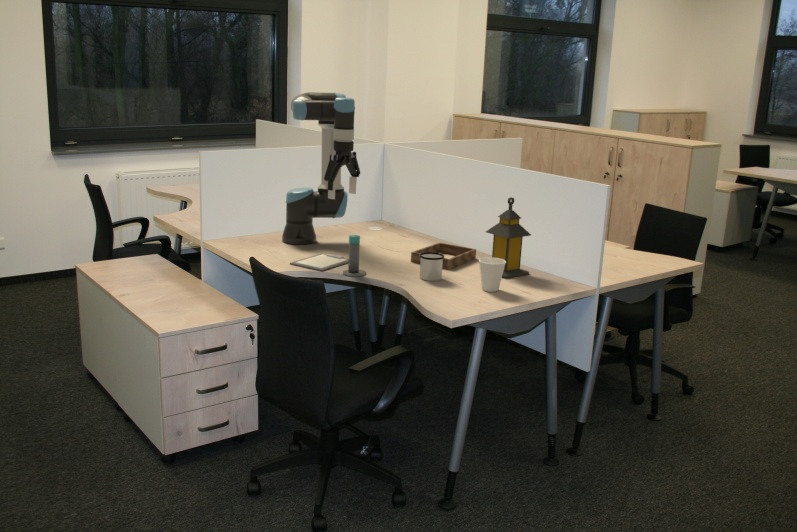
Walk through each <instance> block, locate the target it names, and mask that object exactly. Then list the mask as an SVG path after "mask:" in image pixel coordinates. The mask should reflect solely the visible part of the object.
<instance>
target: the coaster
mask: <svg viewBox="0 0 797 532" xmlns="http://www.w3.org/2000/svg"><path fill="white" fill-rule="evenodd" d="M342 275H343V276H347V277H351V278H352V277H354V278H359V277H364V275H365V276H366V275H367V271H366V270H364V269H359V273H349V272H348V269H345V270H342Z"/></svg>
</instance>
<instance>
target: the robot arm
mask: <svg viewBox="0 0 797 532" xmlns="http://www.w3.org/2000/svg"><path fill="white" fill-rule="evenodd" d="M355 102H356V101H355V99H354V98H352V97H346V94H344V93H339V92H315V91H313V92H311V91H310V92H305V93H300V94H297V95H296V96H294V97H293V98H292V100H291V103H290V110H291V113H292V118H293V120H297V121H318V124H317V125H318V126H319V127H320V128H321V169H320V170H321V171H320V172H321V173H320V174H321V179H320V180H321V181H320V184H319V185H318V187H317V191H314V188H312V187H297V188H293V189H290V190H288V191H287V192H286V196H285V197H286V200H285V203H286V205H285V206H286V209H285V210H286V211H285V214H286V215H285V226H284V229H283V233H282V235H281V240H282V242H283V243H286V244H290V245H310V244H314V243H316V242H317V235H316V231H315V228H314V223H313V222H314V221H313V219H314V218H315V219H320V218H321V219H323V218H324V219H328V218H329V219H337V218H338V219H339V218H343V217H344V216H345V214H346V211H347V206H348V196H349V195H348V194H352V195H356V194H357V178H359V177H360V175H361V170H360V165H359V162H358V159H357V151H354V143H355V142H354V141H353V140H354V139H355V110H356V107H355V105H356V103H355ZM343 166H346V169H347V171H348V172H349V174H350V176H349V182H348V186H349V187H348V192H347V191H345V187H344V186H343V185H342V167H343Z"/></svg>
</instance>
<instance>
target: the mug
mask: <svg viewBox="0 0 797 532" xmlns="http://www.w3.org/2000/svg"><path fill="white" fill-rule="evenodd" d="M419 256H420V258H421V263H419V264H420V266H419V267H420V268H419V278H420V279H421V280H422V281H427V282H437V281H440V280H442V277H443V268H442V263H443V259H444V258H445V254H444V253H441V252H439V253H435V252H424V253H421V254H420V255H419Z"/></svg>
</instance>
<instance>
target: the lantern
mask: <svg viewBox="0 0 797 532" xmlns="http://www.w3.org/2000/svg"><path fill="white" fill-rule="evenodd" d="M507 204H508V209H506V210H505V211H503V212H502V213H500V215H498V216H497V218H499V222H498V223H497V224H494V225H493V226H492V227H490V228H489V229H487V230H486V231H485V233H487V234H491V235H493V238H492V240H493V241H492V250H491V251H492V252H491V257H493V258H500V259H503V260H505V261H506V263H505V267H504V271H503V274H502V278H501V279H505V280H509V279H515V278H519V277H523V276H529V275H530V271H528V270H525V269H522V268H521V261H522V248H523V238H524V237H530V236H532V234H531V233H530V232H529V231H528V230H526V229H525V227H523V225H522V224H520V220H521V219H522V217H521V216H520V215H519V214H518V213H517V212H516V211H515V210H513V206H514V204H515V198H514V197H508V198H507Z"/></svg>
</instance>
